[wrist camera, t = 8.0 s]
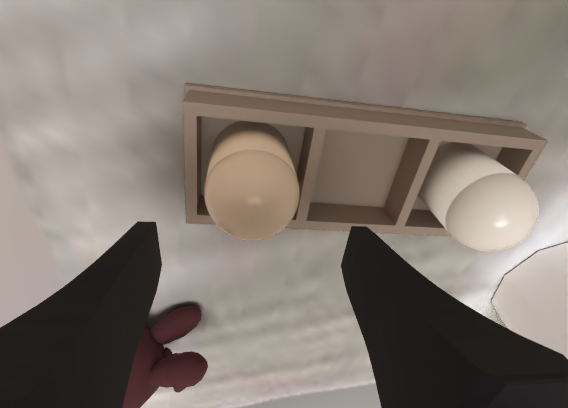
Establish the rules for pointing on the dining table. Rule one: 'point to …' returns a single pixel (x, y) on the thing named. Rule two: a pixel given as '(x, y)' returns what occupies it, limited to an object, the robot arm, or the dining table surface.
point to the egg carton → (347, 154)
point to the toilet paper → (537, 298)
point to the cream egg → (478, 198)
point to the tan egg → (251, 181)
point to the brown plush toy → (164, 358)
